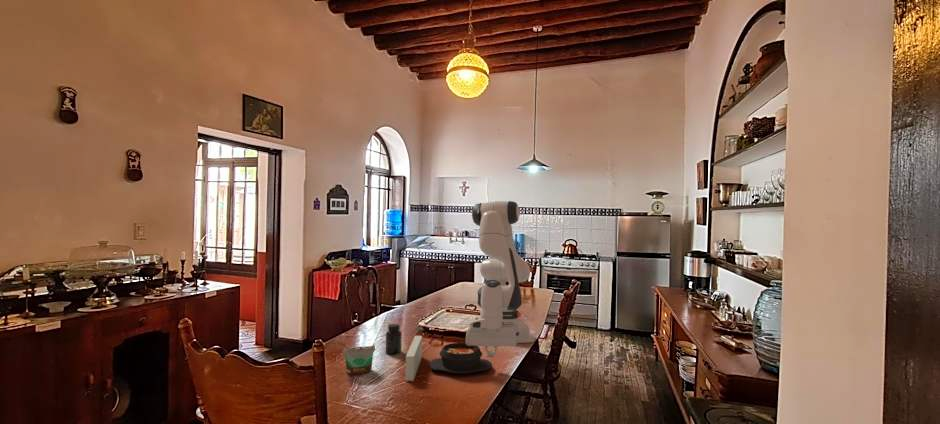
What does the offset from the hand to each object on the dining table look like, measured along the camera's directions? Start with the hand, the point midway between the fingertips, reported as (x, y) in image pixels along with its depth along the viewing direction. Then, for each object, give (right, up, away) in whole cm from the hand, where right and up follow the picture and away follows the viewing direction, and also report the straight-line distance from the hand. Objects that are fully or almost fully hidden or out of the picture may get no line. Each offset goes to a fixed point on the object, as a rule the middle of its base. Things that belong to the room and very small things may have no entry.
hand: (490, 356), depth 174 cm
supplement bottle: (-42, -4, +18) cm, 46 cm away
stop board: (-30, -5, 0) cm, 31 cm away
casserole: (-12, -5, 0) cm, 13 cm away
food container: (-50, -5, -7) cm, 51 cm away
